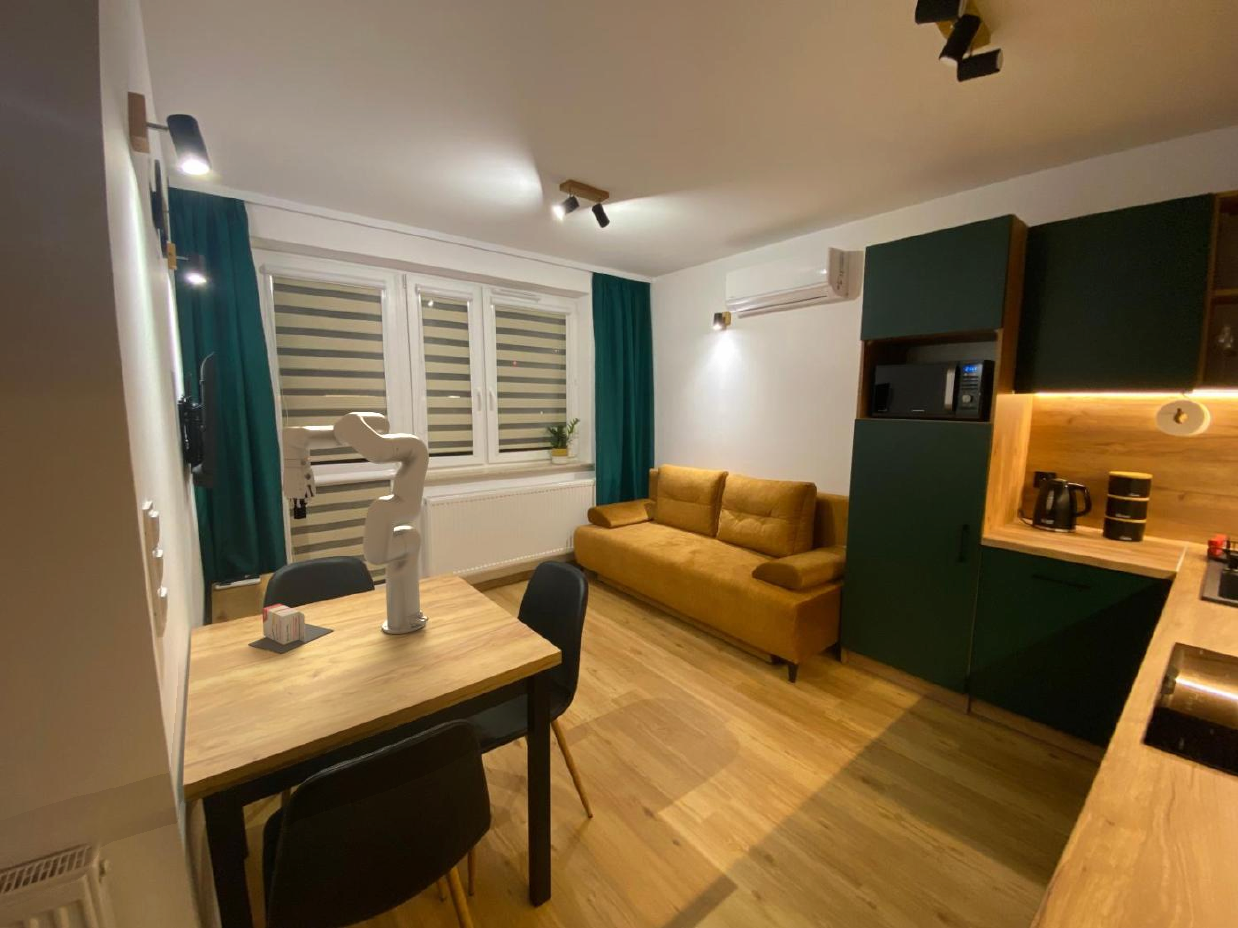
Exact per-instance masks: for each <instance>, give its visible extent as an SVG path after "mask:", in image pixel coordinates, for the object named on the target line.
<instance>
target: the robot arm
mask: <svg viewBox="0 0 1238 928" xmlns="http://www.w3.org/2000/svg"><path fill="white" fill-rule="evenodd" d="M390 428H391V425H390V422H389V420H388V418H387V417H386V416H385V415H382V414H381V413H376V412H349V413H347V414H344V415H343V416H342V417H341V418H340V419H339V418H338V420H337V421H336V422H334V425H321V426H319V425H317V426H316V425H313V426H286V427H283V428H282V429H281V443H282V445H281V446H282V460H283V461H282V462H283V473H282V475H283V476H282V489H283V490H282V491H283V495H284V497H286V500H287V501H288V502H290V503H291V507H292V509H293V518H294V520H303V519H306V518H307V507H308V503H310V502H312V501H313V499H312V498H314V497H316V496H317V491H316V490H317V489H316V480H315V474H314V470H313V468H312V467H311V453H310V451H311V450H324V449H325V450H326V449H327V450H328V449H336V448H342V447H347V446H351V447H352V448H353V449H354V450H356V451H357V453H359V455H360V456H362V457H363V458H365V460H367V461H368V462H369V463H370V462H371V463H373V464H375V465H387V464H395V463H401V465H400V467H399V469H397V471H396V473H395V476H394V478H393V486H392V492H391V493H390V495H386V496H381V497H378V498H375V499H374V500H373V501H372V502H371V503H370V505H369V506H368V508H367V511H366V514H365V516H366V517H365V522H364V530H363V532H364V533H363V539H362V553H363V556H364V558H365V560H366V562H368V563H369V564H370V565H373V566H382V565H386V567H385V597H386V599H385V600H386V620H385V621H384V622H383V623H382V624H381V630H382V631H383V632H384V633H386V634H390V635H400V634H401V635H402V634H409V633H411V632H415V631H418V630H420V629H421V628H423V627H425V626H426V625H427V623H428V622H429V619H430V618H429V617H427V616H423V615H424V614H423V613H424V612H423V610H421V600H420V555H421V549H422V536H421V533H420V532H419V530H418V529H417V528H415V527H413V526H412V525H408V524H412V523H413V522H415V521H417V519H418V518H419V517H420V514H421V510H422V501H423V495H424V487H425V480H426V475H427V471H428V467H429V460H430V459H429V458H430V457H429V451H428V448H427V445H426V444H425V442H424V441H423V439H421V438H419V437H418V436H416V435H413V434H409V433H396V434H395V433H393V434H392V433H391V434H388V433H389V432H390V430H391V429H390Z"/></svg>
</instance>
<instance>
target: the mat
mask: <svg viewBox="0 0 1238 928" xmlns="http://www.w3.org/2000/svg"><path fill="white" fill-rule="evenodd" d="M302 631H303V623H302ZM334 631H335V630H334V629H331V628H327V627H324V626H323V627H322V626H318V625H314V624H309V623H306V622H305V641H303V640H302V639H299V640H296V641H293V642H290V643H287V644H284V645H283V644H281V643H279V642H276V641H274V640H272V639H270V638H268V637H266V636H264V637H262V638H260V639H258V640H256V641H252V642H250V643H248V644H247V645H248V646H251V647H254V648H258V649H262V650H265V651H268V650H269V652H272V651H273V653H275V654H279V653H280V654H279V655H282V654H285V653H287V652H289V651H292V650H293V649H296V648H298V647H300V645H301V646H303V645H305V644H308V643H309V642H312V641H314V640H317V639H319V638H321V637H323V636H326V635H328V634H330V633H332V632H334ZM284 652H285V653H284Z"/></svg>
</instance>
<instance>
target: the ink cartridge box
mask: <svg viewBox="0 0 1238 928" xmlns="http://www.w3.org/2000/svg"><path fill="white" fill-rule="evenodd" d="M261 610H262V632H263V633H262V634H263V636H264V637H268V638H270V639H272V640H274V641H276V642H279V643H281V644H283V645H284V644H287V643H290V642H293V641H296V640H299V639H302V640H303V641H305V623H306V621H305V620H306V619H305V614H304V613H302V612H301V611H299V610H297V609H294V608H291V607H289V606H287V605H284V604H282V603H275V604H274V605H270V606H267V607H263V608H262V609H261ZM302 623H303V631H302Z"/></svg>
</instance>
